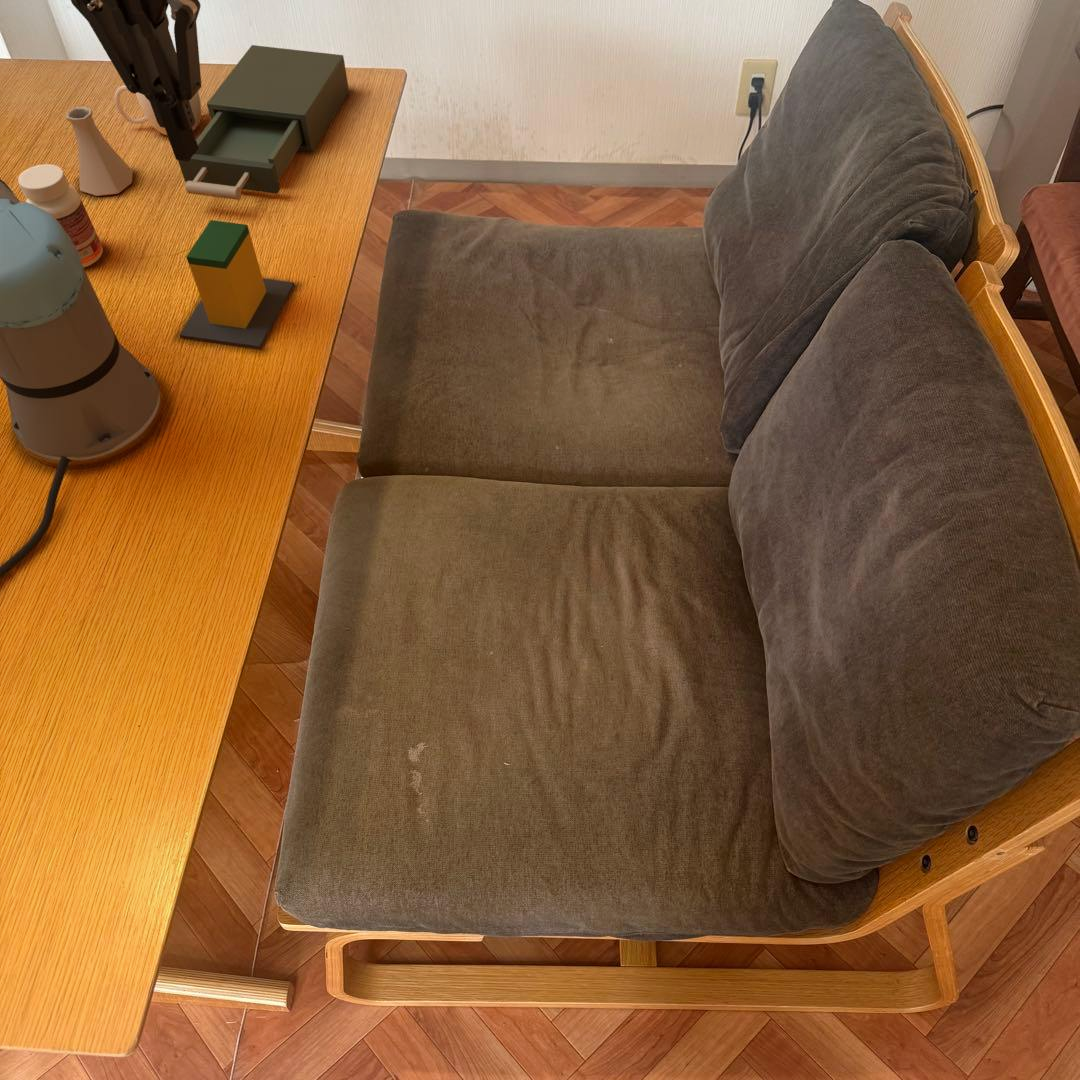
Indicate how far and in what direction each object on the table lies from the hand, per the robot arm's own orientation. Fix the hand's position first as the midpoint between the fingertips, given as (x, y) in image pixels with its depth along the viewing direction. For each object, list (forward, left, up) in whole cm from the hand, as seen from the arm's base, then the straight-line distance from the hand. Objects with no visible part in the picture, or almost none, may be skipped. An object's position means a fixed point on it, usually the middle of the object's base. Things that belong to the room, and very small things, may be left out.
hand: (187, 153), depth 101 cm
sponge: (-7, -5, -15) cm, 18 cm away
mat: (-7, -5, -16) cm, 18 cm away
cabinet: (+37, +5, -16) cm, 40 cm away
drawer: (+21, +5, -15) cm, 26 cm away
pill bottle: (-1, +19, -16) cm, 25 cm away
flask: (+15, +23, -16) cm, 32 cm away
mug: (+30, +21, -16) cm, 40 cm away
